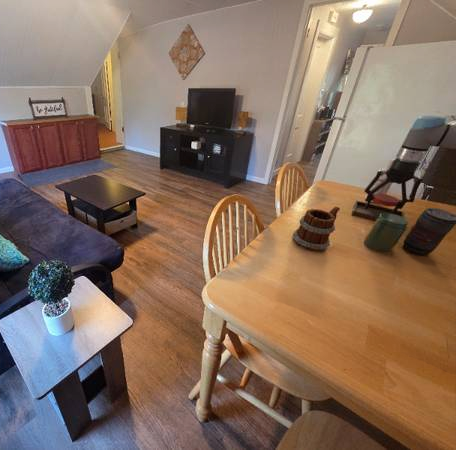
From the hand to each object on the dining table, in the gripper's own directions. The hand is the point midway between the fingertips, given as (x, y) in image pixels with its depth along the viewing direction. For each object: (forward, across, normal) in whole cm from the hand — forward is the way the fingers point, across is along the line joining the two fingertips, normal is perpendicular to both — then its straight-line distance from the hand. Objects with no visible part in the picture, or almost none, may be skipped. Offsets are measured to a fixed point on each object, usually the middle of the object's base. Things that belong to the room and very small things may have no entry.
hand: (378, 211), depth 106 cm
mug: (+2, -18, -40) cm, 44 cm away
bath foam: (+2, -2, +18) cm, 18 cm away
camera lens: (+2, +11, -23) cm, 26 cm away
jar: (+2, +1, -28) cm, 28 cm away
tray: (+2, 0, 0) cm, 2 cm away
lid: (-6, 0, 0) cm, 6 cm away
